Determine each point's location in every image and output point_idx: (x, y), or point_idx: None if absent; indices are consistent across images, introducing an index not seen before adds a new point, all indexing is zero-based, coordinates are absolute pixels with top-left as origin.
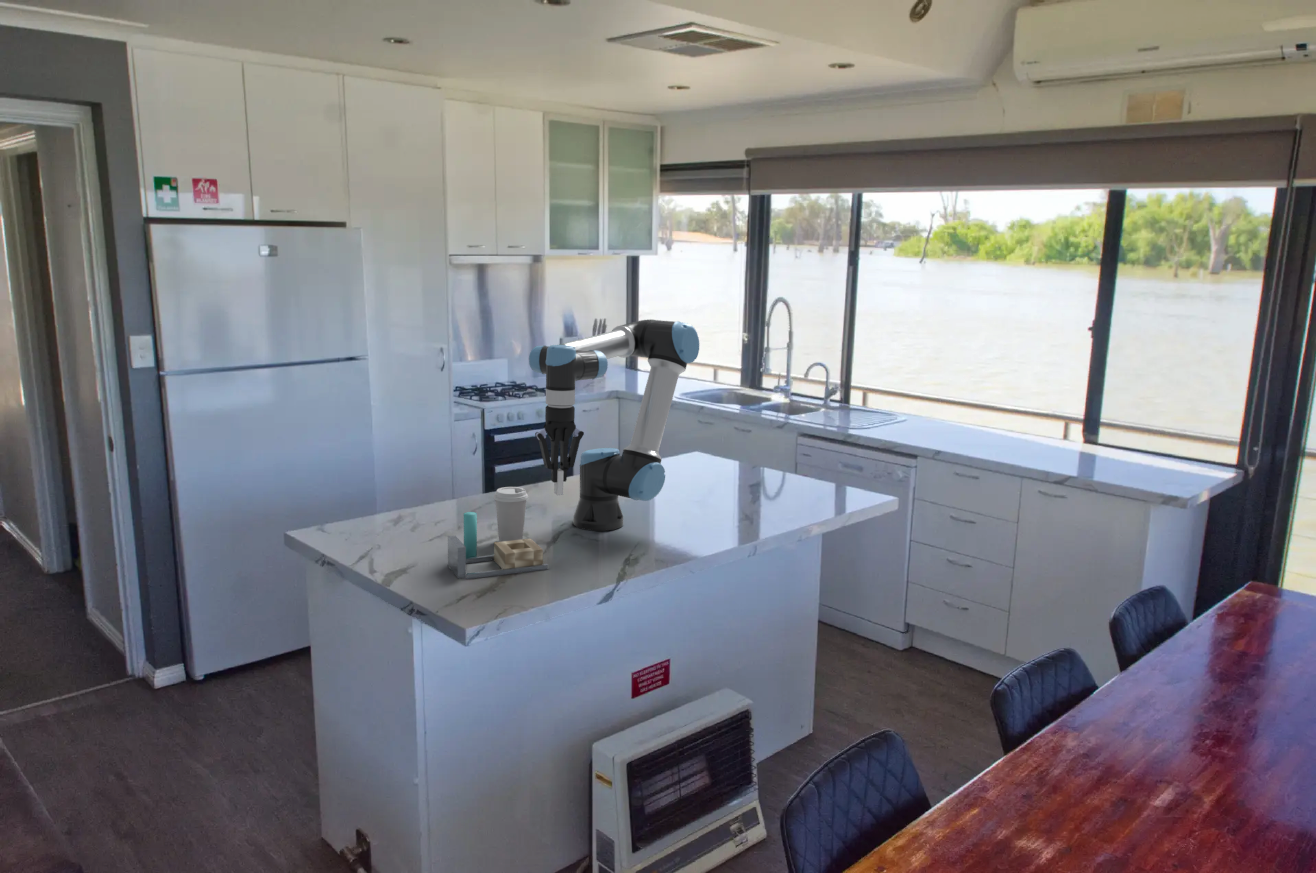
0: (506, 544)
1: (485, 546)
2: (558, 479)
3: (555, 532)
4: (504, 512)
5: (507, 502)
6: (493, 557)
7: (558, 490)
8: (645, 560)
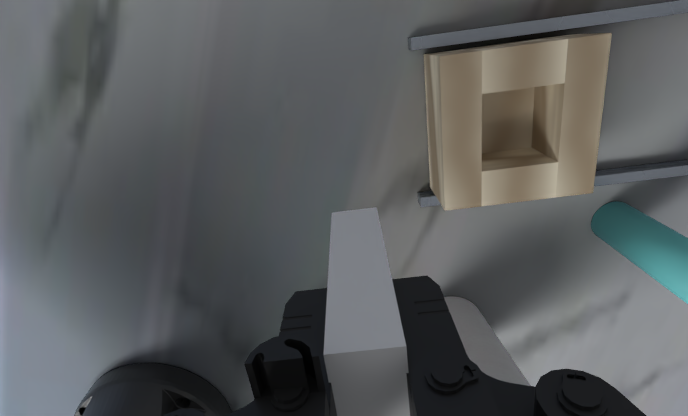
0: (555, 162)
1: (530, 303)
2: (386, 277)
3: None
4: (521, 379)
5: None
6: None
7: (374, 223)
8: (25, 53)
